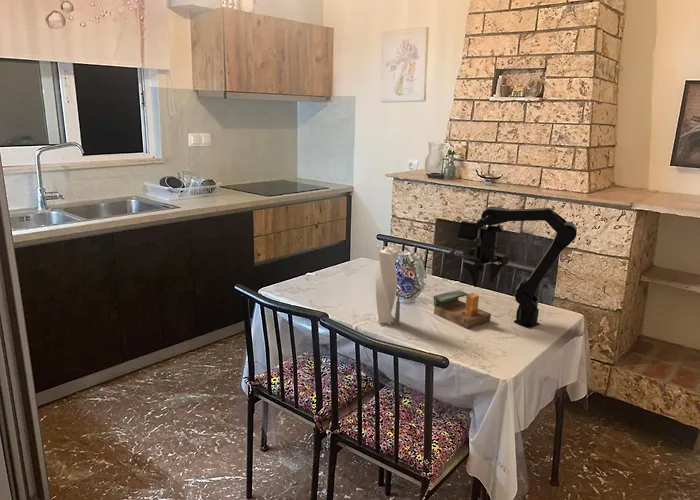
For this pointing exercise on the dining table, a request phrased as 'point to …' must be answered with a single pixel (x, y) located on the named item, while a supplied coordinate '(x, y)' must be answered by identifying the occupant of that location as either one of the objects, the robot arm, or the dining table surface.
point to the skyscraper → (387, 287)
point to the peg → (471, 304)
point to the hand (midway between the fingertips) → (483, 284)
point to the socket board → (458, 310)
